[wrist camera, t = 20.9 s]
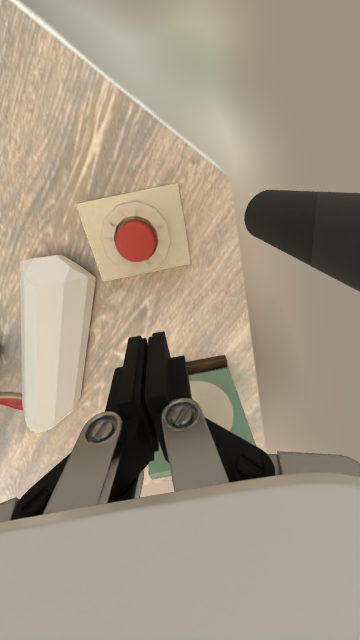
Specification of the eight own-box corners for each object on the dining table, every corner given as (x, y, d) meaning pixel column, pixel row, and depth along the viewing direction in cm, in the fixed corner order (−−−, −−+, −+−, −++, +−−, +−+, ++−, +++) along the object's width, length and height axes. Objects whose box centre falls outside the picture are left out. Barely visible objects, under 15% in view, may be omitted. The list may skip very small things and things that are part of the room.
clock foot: (224, 354, 36) (226, 358, 35) (225, 362, 37) (227, 367, 36) (145, 370, 36) (145, 375, 36) (148, 378, 37) (148, 383, 36)
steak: (55, 413, 39) (58, 400, 38) (54, 416, 38) (56, 403, 37) (-14, 401, 37) (-14, 387, 35) (-16, 404, 36) (-16, 390, 35)
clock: (228, 374, 36) (227, 348, 33) (277, 515, 23) (283, 496, 20) (149, 389, 36) (140, 365, 33) (152, 539, 23) (137, 524, 20)
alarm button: (150, 215, 23) (149, 218, 21) (158, 253, 25) (158, 258, 23) (112, 223, 23) (109, 226, 21) (123, 260, 25) (121, 265, 23)
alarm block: (176, 182, 25) (179, 182, 21) (188, 259, 29) (193, 269, 25) (80, 202, 25) (68, 205, 22) (106, 275, 29) (99, 288, 25)
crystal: (86, 428, 35) (110, 271, 25) (28, 447, 31) (27, 267, 20) (72, 391, 40) (87, 248, 29) (20, 403, 36) (16, 240, 25)
